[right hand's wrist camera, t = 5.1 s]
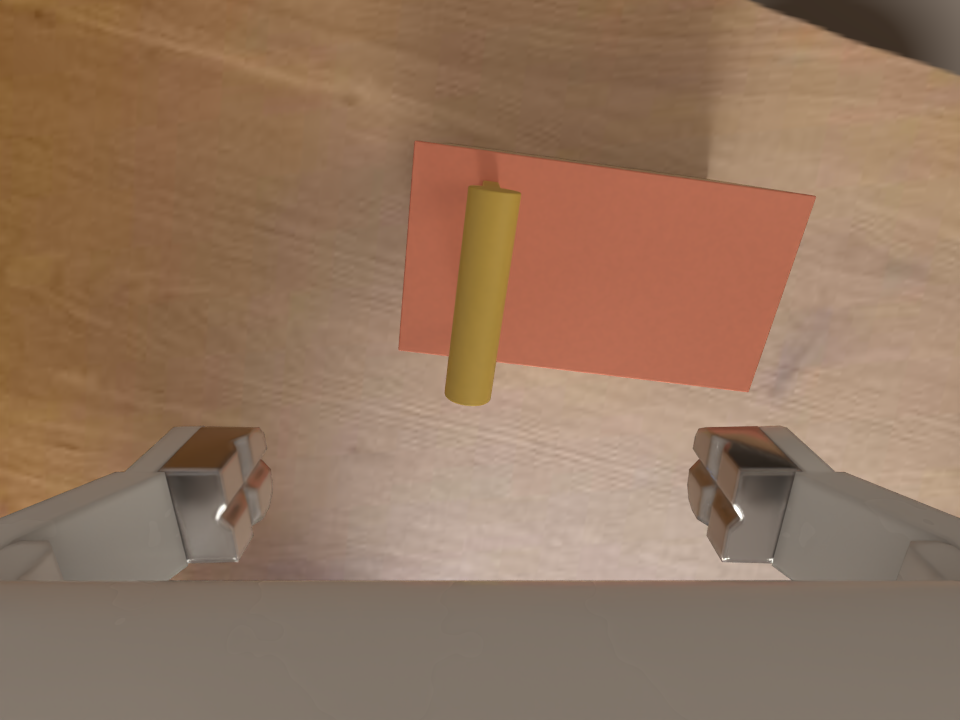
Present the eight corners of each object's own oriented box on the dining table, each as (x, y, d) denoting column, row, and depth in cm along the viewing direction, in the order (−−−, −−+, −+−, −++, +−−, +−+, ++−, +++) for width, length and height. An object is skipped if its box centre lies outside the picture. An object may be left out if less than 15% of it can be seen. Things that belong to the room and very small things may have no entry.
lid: (401, 342, 28) (370, 421, 20) (417, 140, 24) (386, 139, 16) (738, 383, 28) (836, 474, 21) (802, 194, 25) (950, 216, 17)
